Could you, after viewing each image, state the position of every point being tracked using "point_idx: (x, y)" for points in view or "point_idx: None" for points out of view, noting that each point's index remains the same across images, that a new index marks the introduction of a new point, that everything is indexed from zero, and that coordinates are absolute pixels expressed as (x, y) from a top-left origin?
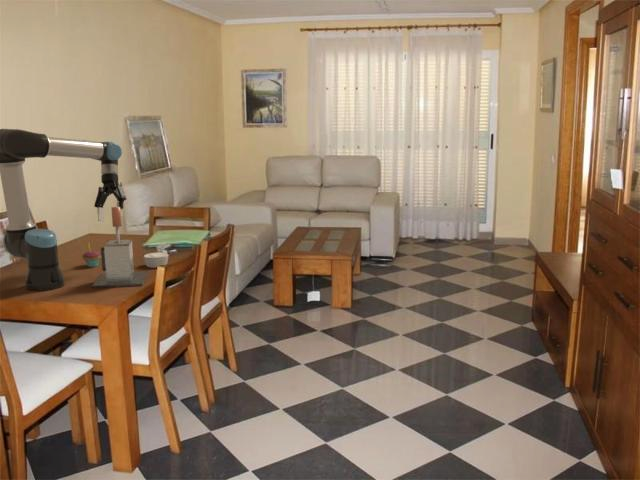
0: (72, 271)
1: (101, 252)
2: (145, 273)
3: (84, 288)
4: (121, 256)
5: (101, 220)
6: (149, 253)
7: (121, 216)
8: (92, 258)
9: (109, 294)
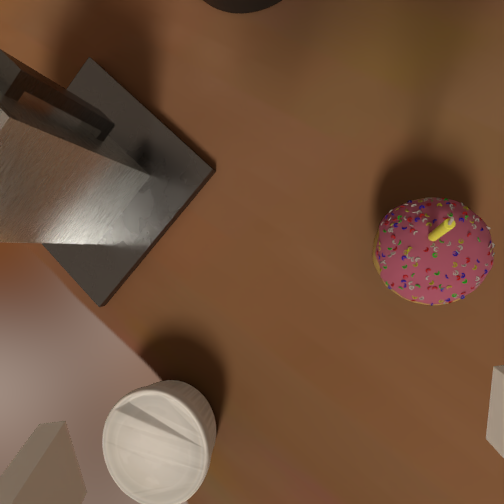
0: (389, 125)
1: (25, 66)
2: (81, 284)
3: (113, 40)
4: None
5: (495, 408)
6: (204, 458)
7: (82, 486)
8: (380, 226)
9: None
